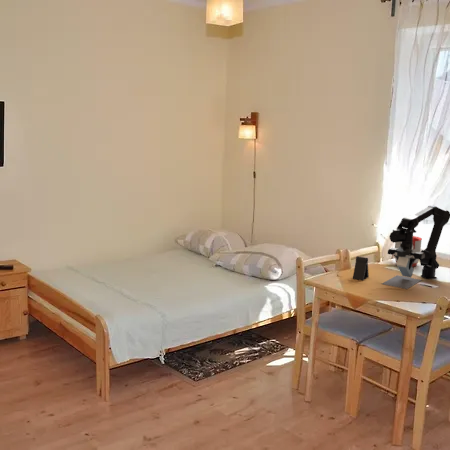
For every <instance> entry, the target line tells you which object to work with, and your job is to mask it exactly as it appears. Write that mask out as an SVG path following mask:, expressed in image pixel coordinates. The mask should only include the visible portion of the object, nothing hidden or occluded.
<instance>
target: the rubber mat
mask: <svg viewBox="0 0 450 450" xmlns="http://www.w3.org/2000/svg"><path fill="white" fill-rule="evenodd" d="M420 282H422V279H419V278H414V277H406V276H402V275H398V274H397V275H394V276H393V277H392V278H389V279H388V280H386V281H384V282H381V285H385V286H388V287H389V286H390V287H394V288H400V289H405V290H408V289H410V288H412V287H414V286H415V285H416V284H418V283H420Z"/></svg>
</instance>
